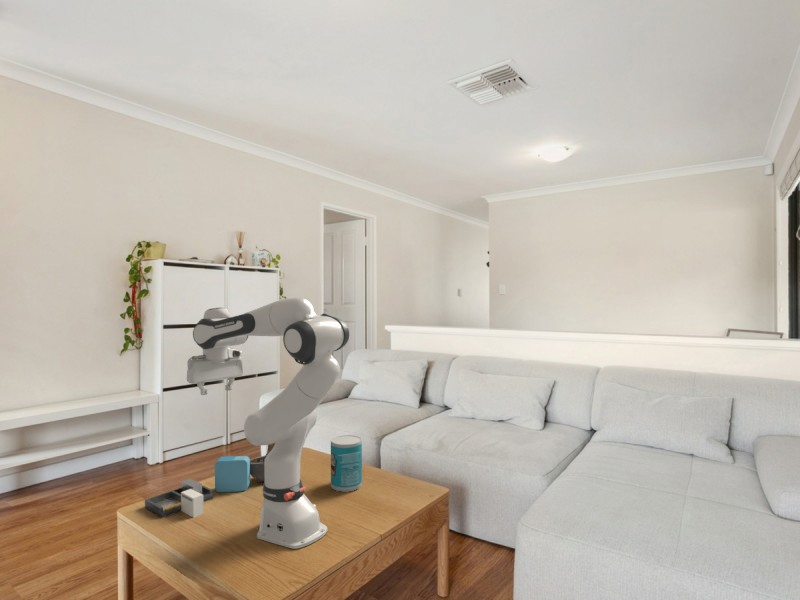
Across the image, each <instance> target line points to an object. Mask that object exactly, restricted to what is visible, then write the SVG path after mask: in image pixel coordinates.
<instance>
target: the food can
mask: <svg viewBox="0 0 800 600" xmlns="http://www.w3.org/2000/svg"><path fill="white" fill-rule="evenodd" d="M362 441H363V440H362V438H361V436H360V437H359V436H357V435H352V434H346V435H345V434H343V435H337V436H334V437H333V438H331V440H330V487H331V489H332V490H333V489H334V491H335V490H336V491H335V492H339V491H342V492H341V493H349V492H348V491H351V492H354V490H355V491H357V490H359V489H360V488H361V487H362V484H363V464H362V463H363V462H362V461H363V453H362V452H363V450H362V449H363V448H362V446H363V443H362ZM358 488H359V489H358ZM356 489H357V490H356Z"/></svg>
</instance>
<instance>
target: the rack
mask: <svg viewBox="0 0 800 600" xmlns="http://www.w3.org/2000/svg"><path fill="white" fill-rule="evenodd" d="M180 485H181V487H177V488H174V489H172V490H168V491H165V492H163V493H160V494H158V495H154V496H152V497H148V498H145V499H144V509H146V510H147V511H149V512H151V513H153V514H154V515H156V516H158V517H160V518H161V519H163V518H166V517H168V516H171V515H174V514H176V513H178V512H182V511H181V492H183V491H186V490H189V489H192V490H194V491H197V492H199V493H201V494H203V503H205V502H207V501H209V500H212V499H214V493H213V491H212V488H209V487H207V486H205V485H203V484H202V483H201V482H199V481H197V480H194V479H191V478H189V479H185V480H183V481H181V482H180Z"/></svg>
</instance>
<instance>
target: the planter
mask: <svg viewBox="0 0 800 600" xmlns="http://www.w3.org/2000/svg"><path fill="white" fill-rule="evenodd" d="M274 445H275V443H273V444H270V445H267V451H266V454H265V455H262V456H257V457H254V458H251V459H250V477H252V478H254V479H256V480H257V482H263V483H264V482H265V478H264V462H265V458H266V456H267V455H268V454H269V453H270V451H271V450H272V449H273V447H274Z"/></svg>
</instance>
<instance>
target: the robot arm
mask: <svg viewBox="0 0 800 600" xmlns="http://www.w3.org/2000/svg"><path fill="white" fill-rule="evenodd" d="M282 336H283V338H282V341H283V346H284V348H285V351H287V353H288V354H289V356H290V357H292V358H293V359H294V361H295V362H296V363H297V364H299V365H302V367H301V368H300V369H299V370H298V372H297V373H296V375H294V377H293V379H291V381H290V383H289V384H287V386H286V387H285V388H284V389H283V390H281V392H280V393H278V394H277V395H276V396H275V397H273V399H271V400H270V401H269V402H267V403H266V404H265V405H264V406H263V407H261V408H260V409H258V410H256V411H255V412H253V413H252V414H249V415H248V416H247V417H246V419H245V421H244V424H243V433H244V436H245V438H246V440H247V441H248V442H249V443H250V445H252V446H255V447H257V446H258V447H259V446H268V445H270V444H273V443H275V445H274V447H273V449H272V450H271V451H270V453H269V454H268V455H267V456H266V458H265V462H264V478H265V482H263V484H262V496H263V503H262V506H261V508H260V511H261V512H260V519H259V529H258V532H257V533H256V538H257V539H258V540H262V541H265V542H269V543H272V544H274V545H279V546H282V547H285V548H289V549H293V550H296V549H301V548H304V547H307V546H310V545H312V544H313V543H315V542H317V541H318V540H320V539H321V538H323V537H324V536H325V535H326V534H327V532H328V531H329V530H328V526H327V525H325V524H324V523H322V522H321V521H320V520H321V519H320V514H319V511H318V509H317V506H316V504H315V503H314V504H313V503H312V502H311V501H310V499H309V498H308V497H307V496H306V495H305V491H306V490H307V489H306V488H307V486H306V485H305V486H303V482H302V479H301V457H302V452H303V448H304V445H305V442H306V440H307V438H308V435H309V433H310V432H311V431H312V429H313V428H314V427H315V425H316V423H317V420H318V419H317V417H318V414H317V411H316V409H317V407H318V406H319V405H320V404H321V403H322V401H324V400H325V398H326V397H327V396H328V394H329V392H331V390H332V389H333V387H334V385H335V383H336V382H337V380H338V378H339V376H340V373H341V367H340V364H339V363H340V362H338V359H336V358H335V357H334V356H333V353H332V352H337V351H339V350H341V349H343V348H344V347H346V345H347V344H348V342H349V339H350V330H349V328H348V324H347V323H346V322H345V321H344V320H342V319H340V318H338V317H335V316H332V315H329V314H326V313H325V312H324V313H322V314H320V315H319V314H317V313H316V312H315V308H314V306H313V304H312V302H311V301H309V300H308V299H306V298H303V297H290V298H283V299H280V300H277V301H273V302H271V303H268V304H265V305H262V306H259V307H258V308H256V309H255V308H254V309H252V310H249V311H247V312H244V313H242V314H239V315H233V314H232V313H230V311H229V310H228V309H227V308H226V307H212V308H208V309H207V310H205V311H204V313H203V318H200V320H199V321H198V322H197V323H196V324H195V326H194V328H193V330H192V338H193V341H194V342H195V344H196V345H198V346H199V347H200V348H201V349H202V354H201V355H193V356H191V357H190V358H188V360H187V370H186V381H187V382H188V383H189V384H193V385H194V384H196V385H197V388H198V389H199V390H200V395H201V396H206V395H208V389H205V388H204V386H205V383H207V382H214V381H220V380H224V379H225V380H226V379H227V380H228V383H227V384H226V385H225V386H224V389H225V391H227V392H228V391H232V390H233V389H232V386H233V384H234V382H235V378H237V377H242V376H243V375H244V374H245V373H244V372H245V366H244V365H245V364H244V359H243V358H242V356H243V351H242V350H239V349H234V348H232V347H234V346H240V345H243V344H244V343H246V342H247V340H248V338H249V337H282Z"/></svg>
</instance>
